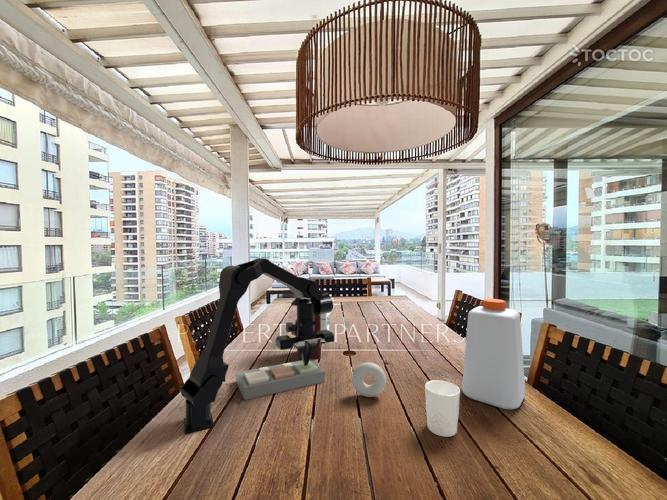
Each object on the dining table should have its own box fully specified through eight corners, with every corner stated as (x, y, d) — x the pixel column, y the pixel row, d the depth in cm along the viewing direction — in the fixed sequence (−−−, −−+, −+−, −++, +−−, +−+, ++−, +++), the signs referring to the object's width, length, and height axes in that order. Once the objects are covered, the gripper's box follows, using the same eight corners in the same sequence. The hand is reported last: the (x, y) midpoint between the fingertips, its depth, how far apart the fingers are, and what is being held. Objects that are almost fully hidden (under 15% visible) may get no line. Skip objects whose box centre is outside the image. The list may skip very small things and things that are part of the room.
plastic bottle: (473, 379, 101) (474, 294, 101) (527, 393, 91) (528, 299, 91) (457, 396, 90) (458, 300, 89) (517, 415, 80) (518, 307, 79)
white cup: (432, 415, 80) (432, 377, 80) (463, 427, 75) (464, 386, 75) (419, 429, 74) (419, 388, 73) (453, 443, 69) (453, 399, 68)
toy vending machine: (297, 362, 116) (297, 287, 115) (297, 351, 127) (296, 283, 126) (321, 360, 117) (321, 287, 117) (318, 350, 128) (318, 283, 128)
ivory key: (269, 383, 92) (269, 377, 92) (248, 388, 90) (248, 381, 90) (264, 376, 98) (264, 369, 98) (244, 379, 95) (244, 373, 95)
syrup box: (327, 343, 138) (327, 310, 138) (314, 342, 139) (314, 310, 139) (329, 339, 143) (329, 308, 143) (317, 338, 145) (317, 307, 144)
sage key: (317, 373, 100) (317, 367, 100) (300, 377, 97) (300, 370, 97) (310, 366, 105) (310, 361, 105) (293, 370, 102) (293, 364, 102)
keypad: (324, 382, 99) (324, 371, 99) (244, 400, 87) (244, 388, 87) (308, 367, 111) (308, 357, 111) (236, 381, 99) (236, 371, 99)
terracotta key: (294, 378, 96) (294, 372, 96) (275, 382, 93) (275, 375, 93) (288, 371, 101) (288, 365, 101) (270, 374, 99) (270, 368, 99)
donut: (351, 398, 89) (351, 363, 88) (352, 392, 92) (352, 359, 92) (386, 400, 87) (386, 365, 87) (386, 395, 91) (386, 361, 90)
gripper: (321, 310, 112) (321, 352, 112) (270, 315, 103) (270, 361, 104) (335, 316, 102) (335, 363, 102) (280, 323, 94) (280, 374, 94)
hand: (305, 365), depth 101 cm, fingers closed
